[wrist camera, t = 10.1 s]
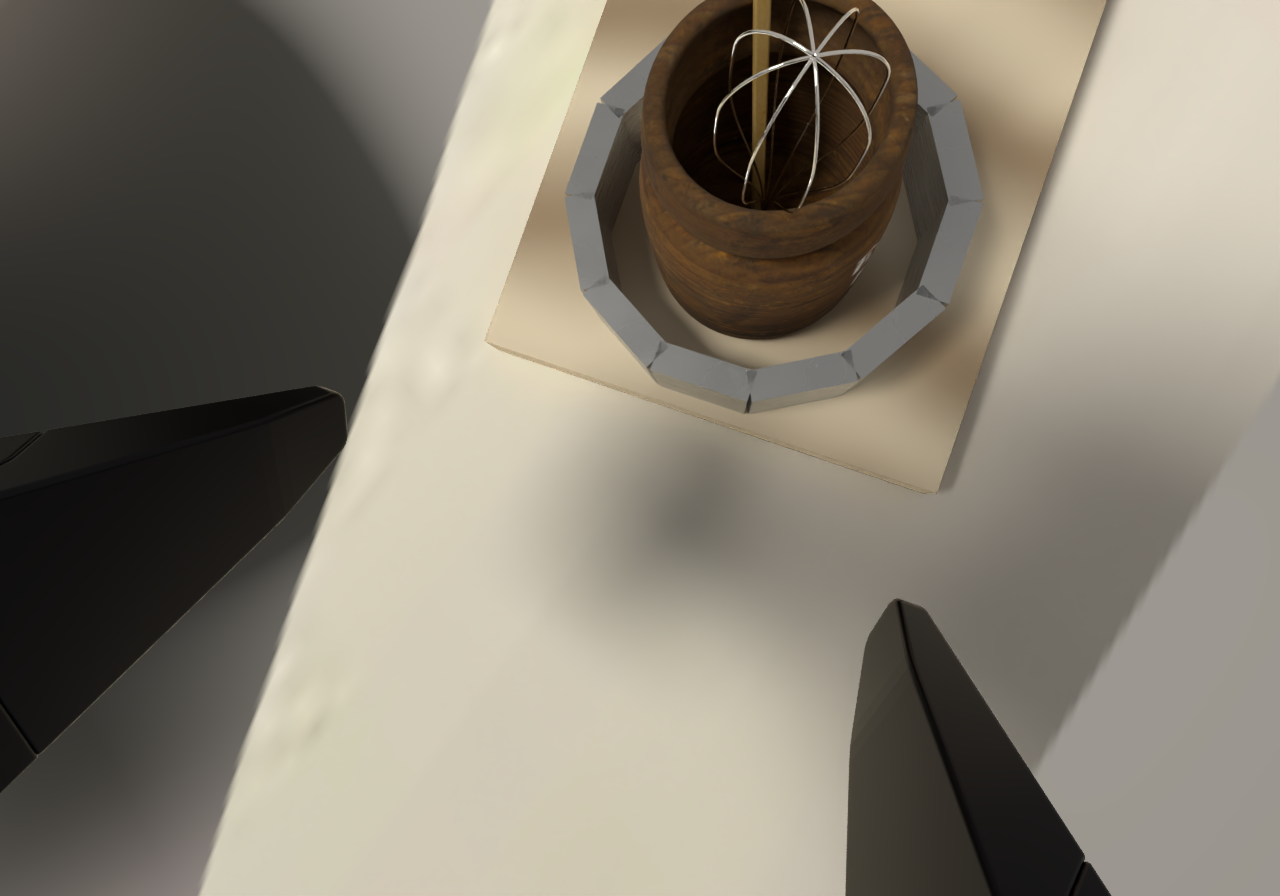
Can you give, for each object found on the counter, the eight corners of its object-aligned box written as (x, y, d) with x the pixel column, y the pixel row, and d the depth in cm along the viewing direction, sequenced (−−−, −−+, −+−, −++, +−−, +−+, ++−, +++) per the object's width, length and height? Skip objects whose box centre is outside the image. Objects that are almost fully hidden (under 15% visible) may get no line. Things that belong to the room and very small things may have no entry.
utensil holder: (670, 362, 18) (570, 126, 6) (645, 161, 19) (509, -397, 7) (876, 331, 18) (1186, 0, 6) (843, 123, 18) (1065, -575, 6)
